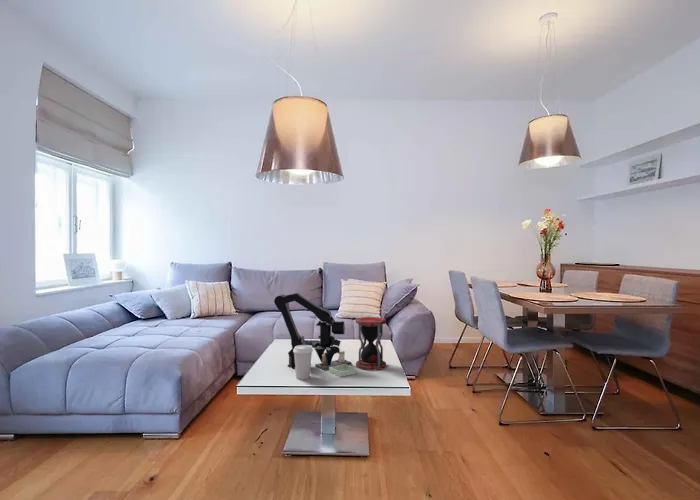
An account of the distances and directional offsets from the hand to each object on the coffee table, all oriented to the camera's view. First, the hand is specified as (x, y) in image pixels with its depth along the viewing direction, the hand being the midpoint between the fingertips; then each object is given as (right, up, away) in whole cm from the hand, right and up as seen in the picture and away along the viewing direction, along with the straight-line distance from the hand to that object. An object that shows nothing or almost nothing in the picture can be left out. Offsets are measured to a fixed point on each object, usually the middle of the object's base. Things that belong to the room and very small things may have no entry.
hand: (325, 363), depth 218 cm
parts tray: (+9, -2, -9) cm, 13 cm away
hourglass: (+24, -2, +2) cm, 24 cm away
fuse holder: (+4, -2, +3) cm, 5 cm away
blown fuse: (0, -2, 0) cm, 2 cm away
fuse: (+8, -2, +6) cm, 10 cm away
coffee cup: (-10, -2, -17) cm, 20 cm away
